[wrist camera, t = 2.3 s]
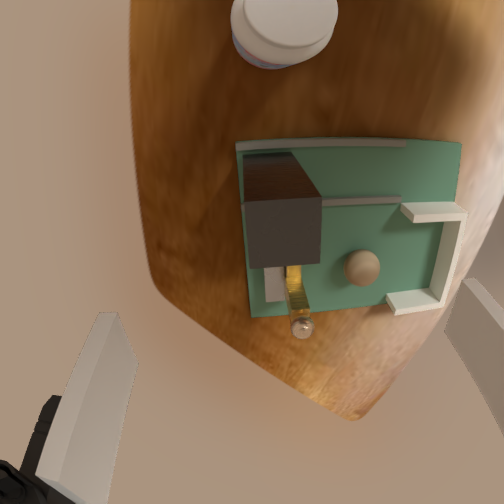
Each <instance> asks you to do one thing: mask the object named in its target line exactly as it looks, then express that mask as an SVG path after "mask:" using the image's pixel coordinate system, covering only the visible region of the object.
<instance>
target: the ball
mask: <svg viewBox="0 0 504 504" xmlns="http://www.w3.org/2000/svg"><path fill="white" fill-rule="evenodd" d="M343 269H344V274H345V277H346V278H347V280H348V281H349V282H350V283H352V284H353V285H355V286H360V287H364V286H368V285H370V284H372V283H373V282H374V281H375V280H376V279H377V277H378V275H379V272H380V263H379V260H378V258H377V257H376V255H375V254H374V253H372V252H371V251H369V250H366V249H358V250H355V251H353V252H351V253H350V254H349V255H348V256H347V258H346V259H345V262H344V268H343Z"/></svg>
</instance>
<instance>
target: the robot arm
mask: <svg viewBox="0 0 504 504" xmlns="http://www.w3.org/2000/svg"><path fill="white" fill-rule="evenodd" d="M444 332H445V334H446V335H447V337H448V338H449V340H450V341H451V343H452V345H453V346H454V348H455V349H456V351H457V352H458V354H459V356H460V357H461V359H462V361H463V362H464V364H465V366H466V367H467V369H468V371H469V372H470V374H471V376H472V378H473V379H474V381H475V383H476V384H477V386H478V388H479V390H480V392H481V393H482V395H483V397H484V399H485V401H486V403H487V404H488V406H489V408H490V410H491V412H492V414H493V416H494V418H495V420H496V422H497V424H498V425H499V427H500V429H501V431H502V434H503V436H504V310H503V309H502V308H501V306H500V305H499V304H498V303H497V302H496V300H494V298H493V297H492V296H491V295H490V294H489V293H488V291H487V290H486V289H485V288H484V287H483V286H482V285H481V284H480V282H479V281H478V280H477V279H476V278H471V279H464V280H462V281H461V284H460V287H459V290H458V294H457V297H456V300H455V303H454V306H453V308H452V311H451V314H450V317H449V320H448V323H447V325H446V328H445V330H444ZM138 364H139V363H138V361H137V359H136V356H135V354H134V352H133V350H132V347H131V345H130V342H129V340H128V338H127V335H126V333H125V330H124V328H123V325H122V323H121V320H120V318H119V315H118V313H117V312H107V313H106V312H103V313H99V314H98V317H97V319H96V320H95V322H94V325H93V327H92V329H91V331H90V333H89V335H88V338H87V340H86V342H85V344H84V346H83V349H82V351H81V353H80V355H79V357H78V360H77V362H76V364H75V367H74V369H73V371H72V374H71V376H70V378H69V381H68V383H67V386H66V389H65V391H64V393H63V396H56V395H52V397H51V398H50V399H49V400H48V401H47V402H46V404H45V405H44V406H43V408H42V410H41V413H40V415H39V418H38V422H37V423H36V426H35V428H34V432H33V434H32V436H31V439H30V442H29V445H28V447H27V451H26V453H25V456H24V459H23V462H22V465H21V468H20V470H19V471H18V470H17V469H15V468H14V467H13V466H12V465H11V464H9V463H8V462H7V461H4V460H0V504H107V502H108V495H109V491H110V485H111V480H112V474H113V470H114V464H115V460H116V455H117V450H118V446H119V441H120V436H121V432H122V428H123V424H124V419H125V415H126V411H127V407H128V403H129V399H130V395H131V390H132V387H133V383H134V379H135V375H136V372H137V368H138Z"/></svg>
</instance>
